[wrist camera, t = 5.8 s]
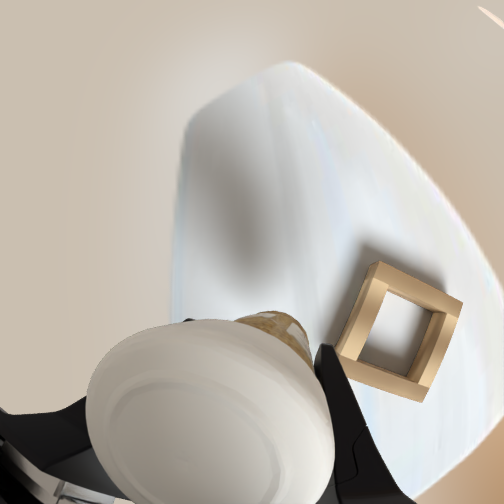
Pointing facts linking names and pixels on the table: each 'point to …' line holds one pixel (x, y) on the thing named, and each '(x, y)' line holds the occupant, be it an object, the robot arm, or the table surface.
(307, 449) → the sprinkles bottle
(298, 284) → the table surface
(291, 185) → the table surface
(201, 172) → the table surface
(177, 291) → the table surface
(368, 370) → the block
